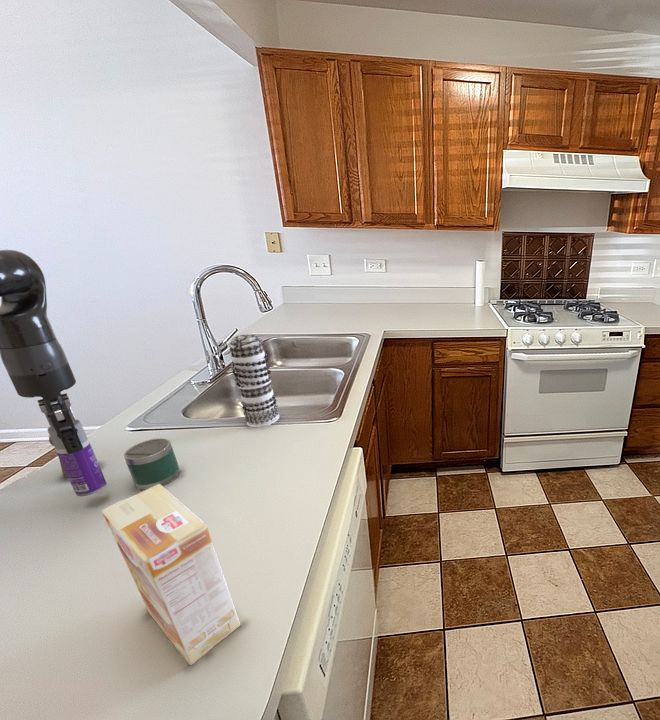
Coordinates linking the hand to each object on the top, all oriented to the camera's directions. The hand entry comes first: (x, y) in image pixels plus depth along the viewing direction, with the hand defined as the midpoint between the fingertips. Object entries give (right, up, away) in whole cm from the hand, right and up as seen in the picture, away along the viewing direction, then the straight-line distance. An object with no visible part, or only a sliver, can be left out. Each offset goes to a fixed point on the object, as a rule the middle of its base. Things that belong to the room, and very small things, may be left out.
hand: (73, 445), depth 77 cm
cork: (-13, -9, +15) cm, 22 cm away
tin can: (+7, -10, +12) cm, 17 cm away
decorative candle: (+17, -1, +36) cm, 40 cm away
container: (0, -10, +4) cm, 11 cm away
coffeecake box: (+36, -22, -18) cm, 46 cm away
